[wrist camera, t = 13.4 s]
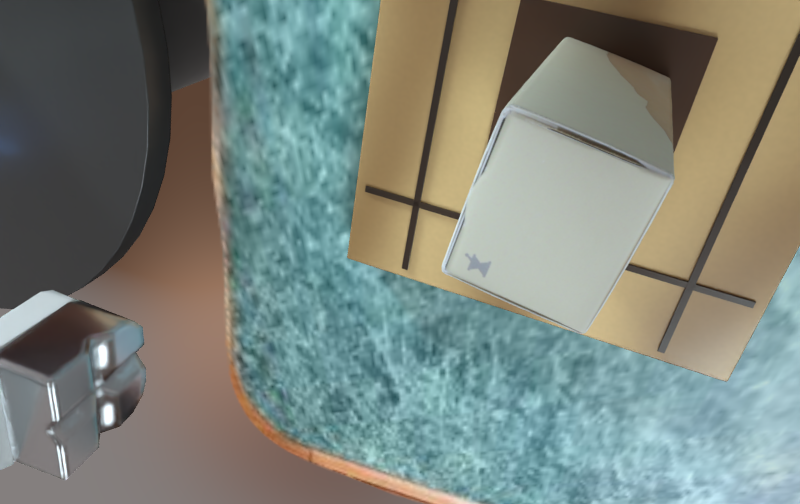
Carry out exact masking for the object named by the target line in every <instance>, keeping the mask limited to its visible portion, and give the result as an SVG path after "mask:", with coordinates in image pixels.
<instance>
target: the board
mask: <svg viewBox="0 0 800 504" xmlns="http://www.w3.org/2000/svg"><path fill="white" fill-rule="evenodd" d="M566 37H571V38H573V39H576V40H579V41H581V42H584V43H587V44H589V45H592V46H595V47H597V48H600V49H603V50H605V51H608V52H610V53H613V54H615V55H618V56H620V57H623V58H625V59H627V60H630V61H632V62H635V63H637V64H639V65H642V66H644V67H646V68H649V69H651V70H653V71H655V72H658V73H660V74H662V75H665V76H667V77H668V78H670V80H671V98H672V126H673V150H674V151H673V153H674V158H673V159H674V174H675V180H674V183H673V185H672V187H671V189H670V190H669V192H668V194H667V195H666V197H665V199H664V201H663V203H662V205H661V207H660V209H659V211H658V212H657V214H656V216H655V218H654V220H653V222H652V223H651V225H650V227H649V229H648V231H647V232H646V234H645V236H644V237H643V239H642V241H641V243H640V245H639V247H638V249H637V250H636V252H635V254H634V255H633V257H632V259H631V261H630V263H629V264H628V266H627V267H626V269H625V271H624V273H623V274H622V276H621V278H620V279H619V281H618V283H617V284H616V286H615V288H614V290H613V291H612V293H611V294H610V296H609V298H608V299H607V301H606V303H605V304H604V306H603V307H602V309H601V310H600V312H599V314H598V315H597V317H596V318H595V320H594V321H593V323H592V325H591V326H590V328H589V329H588V331H587V332H586V333H584V334H582V335H585V336H588V337H591V338H594V339H597V340H600V341H603V342H606V343H609V344H612V345H615V346H618V347H621V348H625V349H628V350H631V351H634V352H637V353H640V354H643V355H646V356H649V357H652V358H655V359H658V360H661V361H664V362H667V363H670V364H674V365H677V366H680V367H683V368H686V369H689V370H692V371H695V372H698V373H701V374H704V375H707V376H710V377H713V378H716V379H720V380H723V381H728V379H729V378H730V376H731V374H732V372H733V370H734V368H735V366H736V364H737V363H738V361H739V359H740V357H741V355H742V353H743V351H744V349H745V348H746V346H747V344H748V342H749V340H750V338H751V336H752V334H753V332H754V331H755V329H756V327H757V325H758V323H759V321H760V319H761V317H762V316H763V314H764V312H765V310H766V308H767V306H768V304H769V302H770V300H771V299H772V297H773V295H774V293H775V291H776V289H777V287H778V285H779V284H780V282H781V280H782V278H783V276H784V274H785V272H786V270H787V268H788V267H789V265H790V263H791V261H792V259H793V257H794V255H795V253H796V252H797V250H798V248H799V246H800V0H381V3H380V11H379V18H378V26H377V34H376V41H375V49H374V57H373V64H372V72H371V80H370V87H369V95H368V102H367V110H366V118H365V125H364V133H363V141H362V148H361V156H360V164H359V171H358V179H357V187H356V194H355V202H354V210H353V217H352V225H351V233H350V240H349V248H348V256H347V257H348V258H349V259H352V260H355V261H358V262H361V263H364V264H367V265H370V266H373V267H376V268H379V269H382V270H386V271H389V272H392V273H395V274H398V275H401V276H404V277H407V278H410V279H413V280H416V281H419V282H422V283H425V284H428V285H431V286H435V287H438V288H441V289H444V290H447V291H450V292H453V293H456V294H459V295H462V296H465V297H468V298H471V299H474V300H477V301H481V302H484V303H487V304H490V305H493V306H496V307H499V308H502V309H505V310H508V311H511V312H514V313H517V314H520V315H523V316H526V317H530V318H533V319H536V320H539V321H542V322H545V323H548V324H551V325H554V326H557V327H560V328H563V329H566V330H569V329H567V328H565V327H563V326H560V325H558V324H556V323H553V322H551V321H549V320H546V319H544V318H541V317H539V316H537V315H534V314H532V313H530V312H528V311H526V310H523V309H520V308H518V307H516V306H514V305H512V304H509V303H507V302H505V301H503V300H501V299H499V298H496V297H494V296H492V295H490V294H487V293H485V292H483V291H481V290H479V289H477V288H475V287H472V286H470V285H468V284H466V283H464V282H462V281H460V280H458V279H456V278H454V277H451V276H449V275H446V274H444V273H443V272H442V262H443V260H444V258H445V255H446V252H447V250H448V247H449V244H450V242H451V239H452V236H453V233H454V231H455V228H456V225H457V222H458V220H459V217H460V214H461V212H462V209H463V206H464V204H465V201H466V198H467V196H468V193H469V191H470V188H471V186H472V183H473V181H474V178H475V175H476V173H477V170H478V168H479V165H480V163H481V160H482V158H483V155H484V152H485V150H486V148H487V145H488V143H489V140H490V138H491V136H492V133H493V131H494V128H495V126H496V124H497V121H498V119H499V117H500V114H501V112H502V110H503V109H504V108H505V106H506V105H507V104H508V102H509V101H510V100H511V99H512V98H513V97H514V95H515V94H516V93H517V92H518V91H519V90H520V89H521V87H522V86H523V85H524V84H525V83H526V81H527V80H528V79H529V78H530V77H531V76H532V75H533V73H534V72H535V71H536V70H537V69H538V68H539V66H540V65H541V64H542V63H543V62H544V60H545V59H546V58H547V57H548V56H549V55H550V54H551V52H552V51H553V50H554V49H555V48H556V47H557V46H558V44H559V43H560V42H561V41H562V40H563V39H564V38H566ZM569 331H571V330H569ZM572 332H574V331H572ZM579 334H580V333H579Z"/></svg>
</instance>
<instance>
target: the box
mask: <svg viewBox="0 0 800 504" xmlns="http://www.w3.org/2000/svg"><path fill="white" fill-rule="evenodd" d="M673 151H674V150H673V126H672V98H671V80H670V78H668V77H667V76H665V75H662V74H660V73H658V72H655V71H653V70H651V69H649V68H646V67H644V66H642V65H639V64H637V63H635V62H632V61H630V60H627V59H625V58H623V57H620V56H618V55H615V54H613V53H610V52H608V51H605V50H603V49H600V48H597V47H595V46H592V45H589V44H587V43H584V42H581V41H579V40H576V39H573V38H571V37H566V38H564V39H563V40H562V41H561V42H560V43H559V44H558V46H557V47H556V48H555V49H554V50H553V51H552V52H551V54H550V55H549V56H548V57H547V58H546V59H545V60H544V62H543V63H542V64H541V65H540V66H539V68H538V69H537V70H536V71H535V72H534V73H533V75H532V76H531V77H530V78H529V79H528V80H527V81H526V83H525V84H524V85H523V86H522V87H521V89H520V90H519V91H518V92H517V93H516V94H515V95H514V97H513V98H512V99H511V100H510V101H509V102H508V104H507V105H506V106H505V108H504V109H503V110H502V112H501V114H500V117H499V119H498V121H497V124H496V126H495V128H494V131H493V133H492V136H491V138H490V140H489V143H488V145H487V148H486V150H485V152H484V155H483V158H482V160H481V163H480V165H479V168H478V170H477V173H476V175H475V178H474V181H473V183H472V186H471V188H470V191H469V193H468V196H467V198H466V201H465V204H464V206H463V209H462V212H461V214H460V217H459V220H458V222H457V225H456V228H455V231H454V233H453V236H452V239H451V242H450V244H449V247H448V250H447V252H446V255H445V258H444V260H443V262H442V272H443V273H444V274H446V275H449V276H451V277H454V278H456V279H458V280H460V281H462V282H464V283H466V284H468V285H470V286H472V287H475V288H477V289H479V290H481V291H483V292H485V293H487V294H490V295H492V296H494V297H496V298H499V299H501V300H503V301H505V302H507V303H509V304H512V305H514V306H516V307H518V308H520V309H523V310H526V311H528V312H530V313H532V314H534V315H537V316H539V317H541V318H544V319H546V320H549V321H551V322H553V323H556V324H558V325H560V326H563V327H565V328H567V329H569V330H571V331H574V332H576V333H580V334H584V333H586V332H587V331H588V329H589V328H590V326H591V325H592V323H593V321H594V320H595V318H596V317H597V315H598V314H599V312H600V310H601V309H602V307H603V306H604V304H605V303H606V301H607V299H608V298H609V296H610V294H611V293H612V291H613V290H614V288H615V286H616V284H617V283H618V281H619V279H620V278H621V276H622V274H623V273H624V271H625V269H626V267H627V266H628V264H629V263H630V261H631V259H632V257H633V255H634V254H635V252H636V250H637V249H638V247H639V245H640V243H641V241H642V239H643V237H644V236H645V234H646V232H647V231H648V229H649V227H650V225H651V223H652V222H653V220H654V218H655V216H656V214H657V212H658V211H659V209H660V207H661V205H662V203H663V201H664V199H665V197H666V195H667V194H668V192H669V190H670V189H671V187H672V185H673V183H674V180H675V174H674V159H673V158H674V153H673Z"/></svg>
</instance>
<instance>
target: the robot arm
mask: <svg viewBox="0 0 800 504" xmlns="http://www.w3.org/2000/svg"><path fill="white" fill-rule="evenodd" d="M143 345H144V338H143V327H142V326H141V325H139V324H138V323H136V322H134V321H132V320H129V319H127V318H124V317H122V316H119V315H117V314H114V313H111V312H109V311H107V310H104V309H101V308H99V307H96V306H94V305H91V304H89V303H86V302H84V301H81V300H77V299H74V298H72V297H69V296H67V295H64V294H61V293H59V292H56V291H54V290H50V291H43V292H39V293H38V294H36V295H35V296H33V297H32V298H30V299H29V300H27V301H25V302H24V303H22V304H21V305H19V306H18V307H16V308H15V309H13V310H11V311H10V312H8V313H7V314H5V315H4V316H2V317H1V318H0V470H1V469H3V468H6V467H8V466H10V465H12V464H13V463H14V462H13V460H14V461H17V462H19V463H22V464H24V465H27V466H30V467H33V468H35V469H37V470H40V471H42V472H45V473H48V474H50V475H53V476H56V477H58V478H60V479H63V480H66V479H67V478H68V477H69V476H70V475H71V474H72V473H73V472H74V471H75V470H76V469H77V468H78V467H80V466H81V465H82V464H83V463H84V462H85V461H86V460H87V459H88V458H89V457H90V456H91V455H92V454H93V452H95V451H96V450H97V449H98V448H99V439H100V433H102V432H105V431H108V430H111V429H114V428H117V427H119V426H121V424H123V422H124V421H125V420H126V419H127V418H128V417H129V416H130V415H131V414H132V413H133V412H134V409H135V408H136V406H137V404H138V403H139V401H140V399H141V397H142V395H143V392H144V387H145V382H146V368H145V366H144V364H143V363H142V361H141V360H140V358H139V356H138V355H137V353H136V352H137V351H138V350H139V349H140V348H141V347H142V346H143Z"/></svg>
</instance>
